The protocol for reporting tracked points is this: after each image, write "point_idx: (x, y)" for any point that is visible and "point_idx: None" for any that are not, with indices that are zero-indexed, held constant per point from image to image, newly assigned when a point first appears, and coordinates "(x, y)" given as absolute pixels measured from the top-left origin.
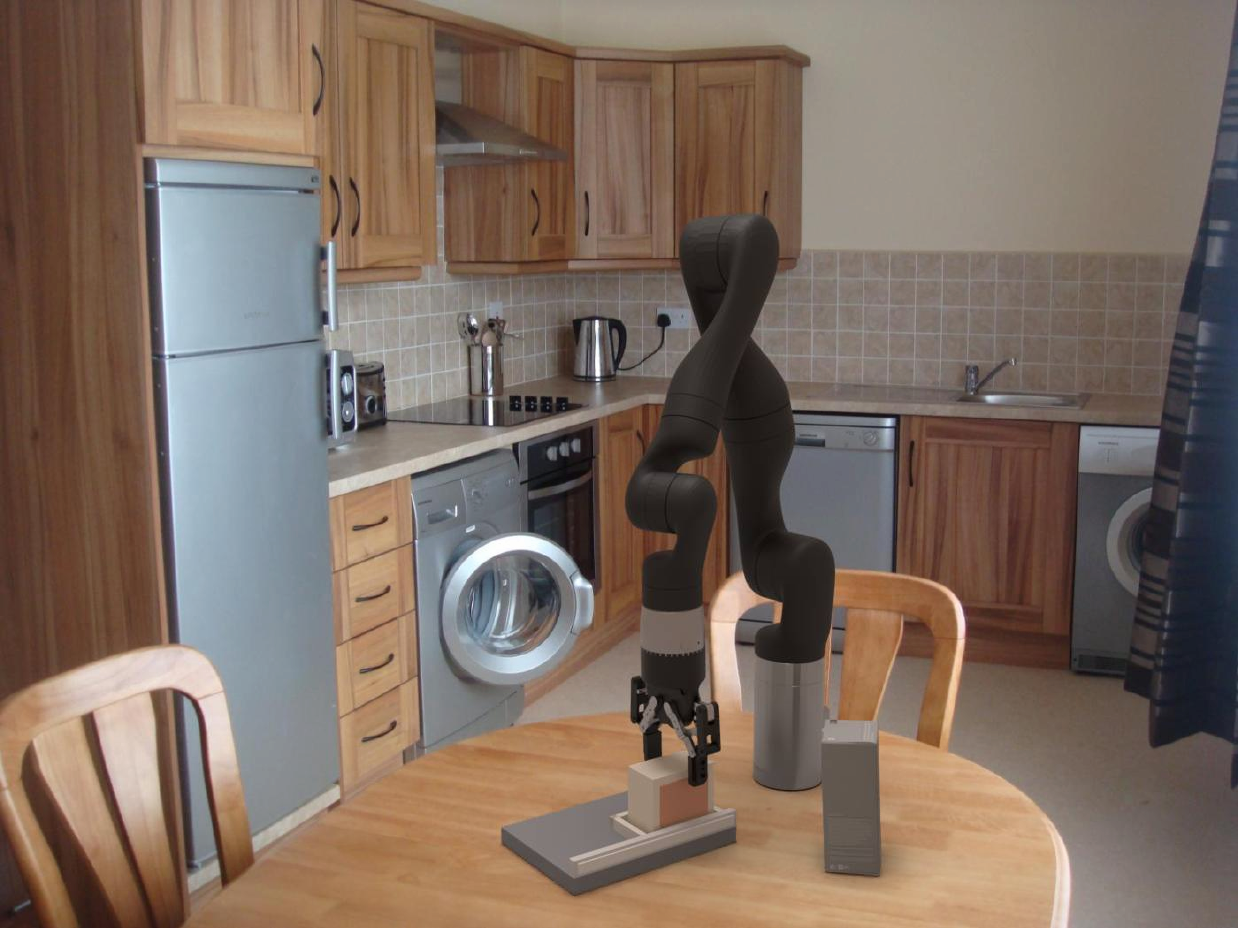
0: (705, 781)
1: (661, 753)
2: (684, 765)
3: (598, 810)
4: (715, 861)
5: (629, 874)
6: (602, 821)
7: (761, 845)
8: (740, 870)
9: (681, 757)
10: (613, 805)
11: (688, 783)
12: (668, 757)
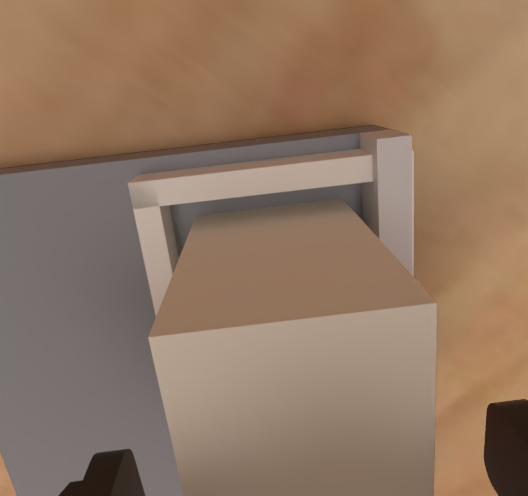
0: (522, 401)
1: (121, 475)
2: (370, 465)
3: (69, 443)
4: (438, 248)
5: None
6: (147, 461)
7: (440, 61)
8: (523, 216)
9: (255, 430)
10: (51, 396)
11: (492, 480)
12: (218, 487)
